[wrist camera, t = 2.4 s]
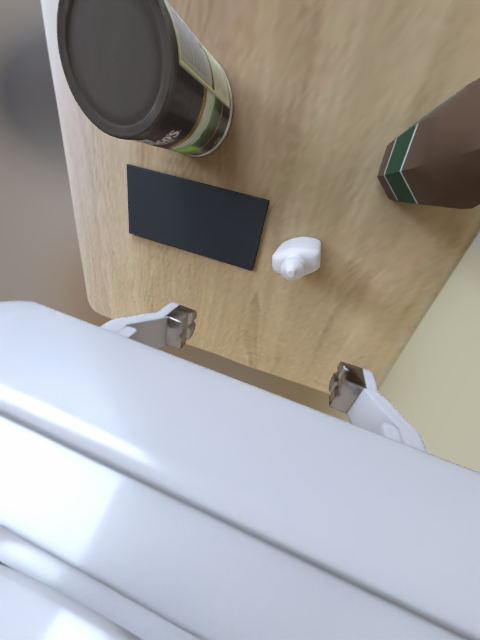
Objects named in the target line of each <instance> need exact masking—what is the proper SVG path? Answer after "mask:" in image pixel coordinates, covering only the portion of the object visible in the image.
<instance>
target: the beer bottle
mask: <svg viewBox="0 0 480 640" xmlns="http://www.w3.org/2000/svg"><path fill="white" fill-rule="evenodd" d="M377 177H378V179H379V181H380V183H381V185H382V186H383V188H384V190H385V192H386V194H387V196H388V197H389V199H391V200H395V201H402V202H408V203H415V204H423V205H432V206H441V207H449V208H458V209H467V208H474V207H476V206H477V205H479V204H480V78H479V79H477V80H476V81H474V82H472V83H470V84H468V85H467V86H466V87H464V88H463V89H461V90H460V91H459V92H457V93H456V94H455V95H453V96H452V97H450V98H449V99H448V100H446V101H445V102H444V103H442V104H441V105H440V106H438V107H437V108H435V109H434V110H433V111H431V112H430V113H429V114H427V115H426V116H424V117H423V118H422V119H420V120H419V121H418V122H417V123H415V124H414V125H413V126H411V127H410V128H409V129H408V130H406V131H405V132H404V133H402V134H401V135H400V136H399V137H397V138H396V139H395V140H393V141H392V142H391V143H390V144H389V145H388V146H387V149H386V152H385V155H384V158H383V161H382V164H381V167H380V170H379V173H378V176H377Z"/></svg>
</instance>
